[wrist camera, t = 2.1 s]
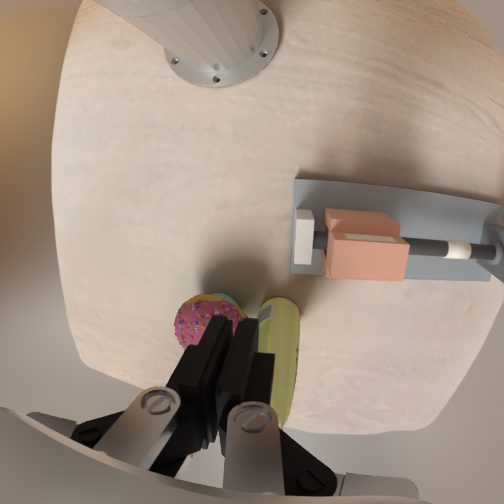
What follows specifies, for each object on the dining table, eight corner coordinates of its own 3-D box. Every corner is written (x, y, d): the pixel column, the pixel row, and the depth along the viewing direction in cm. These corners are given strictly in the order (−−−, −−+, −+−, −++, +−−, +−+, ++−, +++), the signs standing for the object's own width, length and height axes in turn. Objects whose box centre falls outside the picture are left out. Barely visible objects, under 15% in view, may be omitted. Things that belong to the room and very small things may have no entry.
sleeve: (321, 257, 29) (329, 290, 22) (325, 208, 27) (336, 226, 20) (377, 260, 28) (400, 293, 21) (383, 212, 26) (411, 231, 19)
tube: (307, 328, 34) (309, 469, 16) (269, 340, 35) (245, 476, 17) (291, 289, 33) (282, 430, 14) (251, 303, 34) (208, 439, 16)
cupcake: (228, 266, 33) (196, 322, 22) (269, 322, 35) (257, 392, 23) (175, 299, 35) (131, 355, 24) (215, 348, 37) (188, 413, 26)
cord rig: (290, 269, 32) (288, 304, 25) (294, 178, 29) (295, 185, 21) (485, 278, 29) (517, 305, 21) (500, 204, 25) (539, 218, 18)
